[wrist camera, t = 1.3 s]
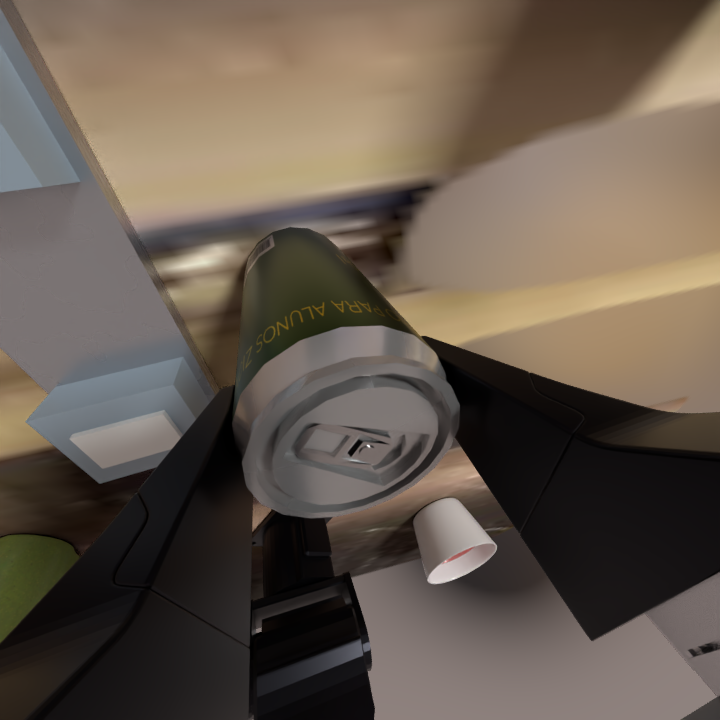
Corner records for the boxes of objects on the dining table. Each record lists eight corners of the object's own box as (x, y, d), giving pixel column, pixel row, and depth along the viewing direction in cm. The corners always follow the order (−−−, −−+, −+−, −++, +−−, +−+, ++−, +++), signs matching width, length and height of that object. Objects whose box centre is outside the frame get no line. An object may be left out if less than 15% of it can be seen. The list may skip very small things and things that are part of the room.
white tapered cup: (392, 532, 38) (413, 588, 33) (429, 490, 34) (458, 546, 29) (440, 529, 42) (465, 578, 37) (478, 491, 39) (510, 540, 34)
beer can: (228, 298, 15) (188, 520, 6) (271, 200, 13) (311, 300, 4) (316, 334, 18) (384, 525, 9) (362, 258, 16) (511, 396, 7)
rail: (234, 416, 20) (233, 427, 19) (123, 447, 19) (117, 460, 18) (-32, -80, 8) (-65, -107, 7) (-395, -85, 7) (-482, -118, 6)
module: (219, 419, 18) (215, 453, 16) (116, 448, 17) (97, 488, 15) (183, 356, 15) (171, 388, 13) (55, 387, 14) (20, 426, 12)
